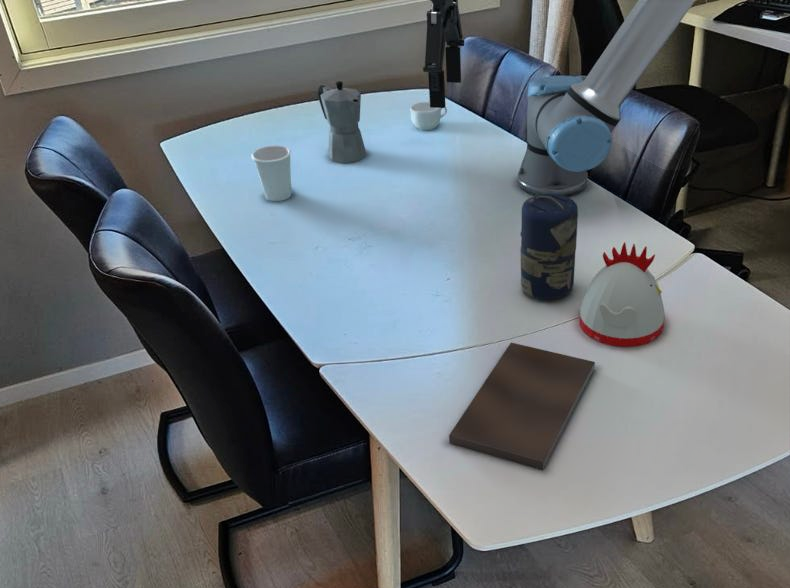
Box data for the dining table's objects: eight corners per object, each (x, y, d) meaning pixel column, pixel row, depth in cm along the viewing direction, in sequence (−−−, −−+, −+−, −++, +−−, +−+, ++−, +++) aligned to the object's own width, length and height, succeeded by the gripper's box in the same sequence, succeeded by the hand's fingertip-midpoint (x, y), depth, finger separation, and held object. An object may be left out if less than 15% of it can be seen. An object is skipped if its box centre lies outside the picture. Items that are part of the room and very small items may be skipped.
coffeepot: (380, 156, 200) (373, 82, 189) (349, 169, 195) (340, 93, 184) (340, 140, 209) (331, 68, 199) (309, 152, 204) (299, 78, 193)
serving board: (510, 349, 136) (510, 342, 135) (594, 369, 131) (595, 361, 130) (449, 443, 118) (448, 435, 117) (543, 469, 113) (543, 461, 112)
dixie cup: (293, 184, 189) (287, 142, 183) (300, 199, 183) (293, 156, 177) (256, 190, 187) (248, 148, 181) (262, 206, 181) (254, 163, 175)
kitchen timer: (655, 353, 133) (666, 272, 124) (571, 338, 137) (576, 259, 129) (668, 307, 144) (679, 229, 135) (589, 294, 148) (594, 218, 139)
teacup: (420, 135, 210) (418, 114, 207) (406, 125, 216) (404, 105, 212) (454, 126, 214) (453, 106, 211) (440, 117, 219) (439, 97, 216)
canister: (538, 309, 145) (541, 215, 134) (510, 284, 152) (510, 193, 141) (584, 293, 148) (590, 201, 138) (554, 270, 155) (558, 180, 144)
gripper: (436, -44, 154) (441, 71, 167) (401, -10, 135) (409, 117, 147) (476, -44, 153) (478, 73, 165) (446, -10, 133) (451, 119, 146)
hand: (446, 94), depth 156 cm, fingers open, 13 cm apart
